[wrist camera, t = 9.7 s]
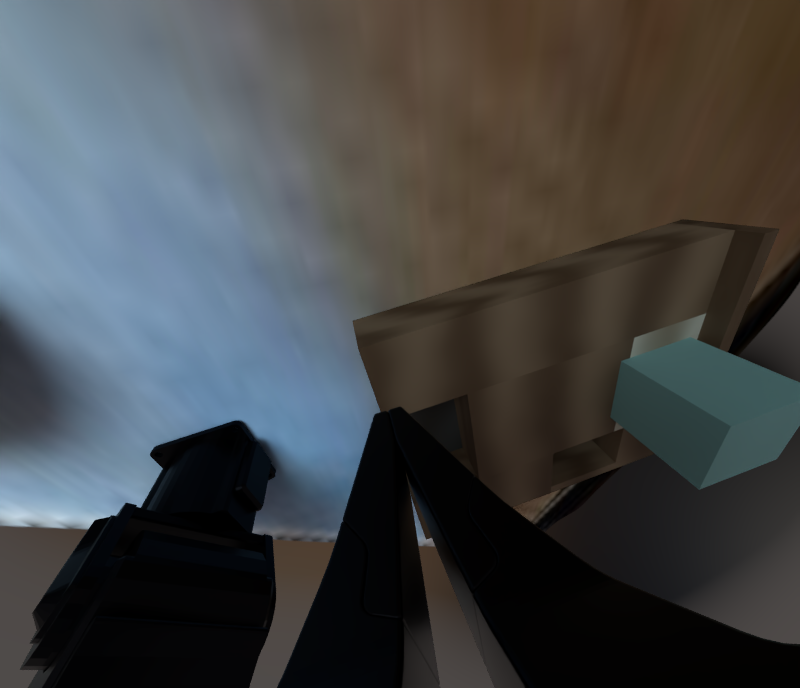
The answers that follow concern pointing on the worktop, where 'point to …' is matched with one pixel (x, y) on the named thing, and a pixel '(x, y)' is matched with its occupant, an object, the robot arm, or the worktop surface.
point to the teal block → (706, 409)
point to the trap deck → (557, 350)
